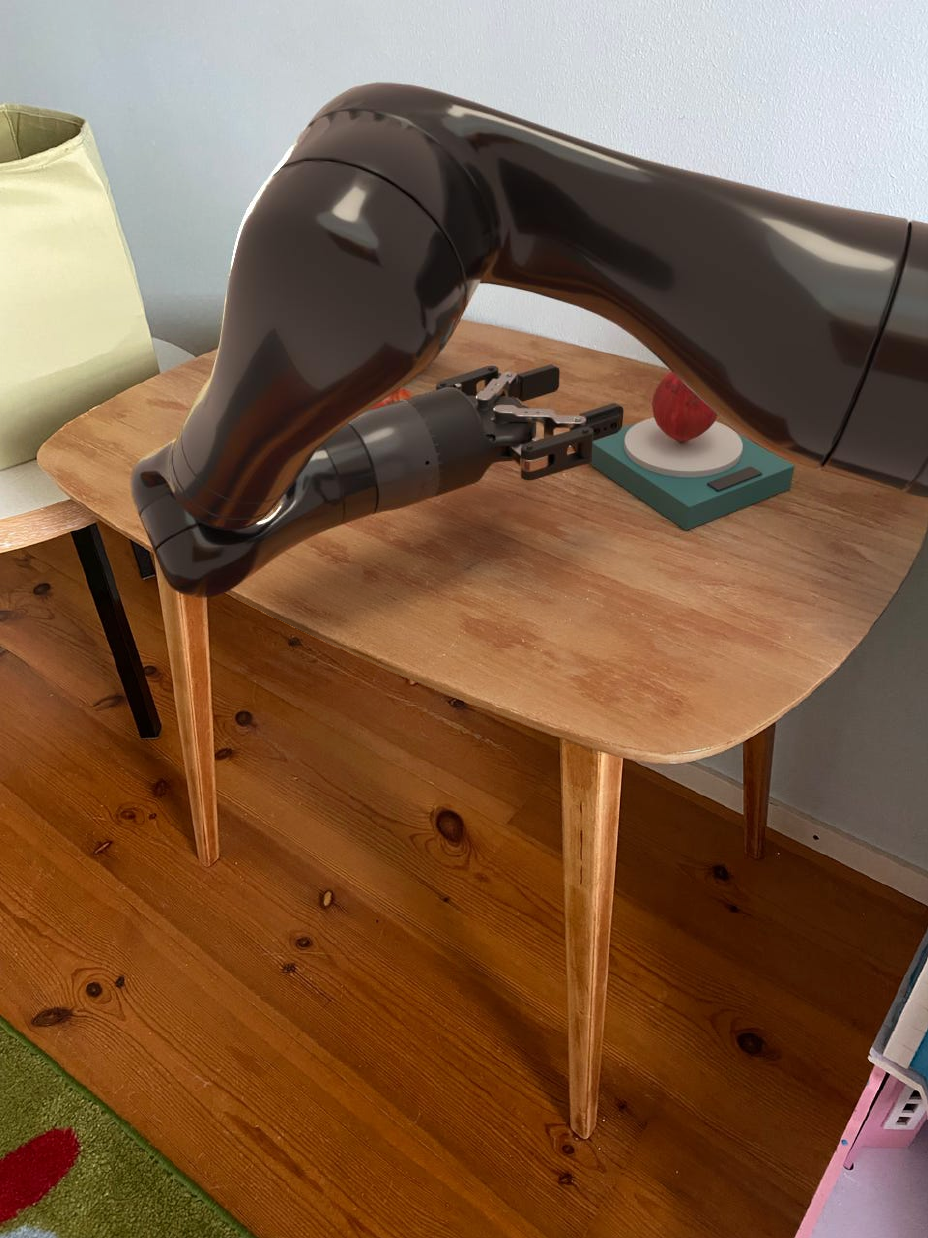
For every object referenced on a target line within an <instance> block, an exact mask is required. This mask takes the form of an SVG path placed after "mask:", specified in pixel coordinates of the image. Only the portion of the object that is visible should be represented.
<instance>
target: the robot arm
mask: <svg viewBox="0 0 928 1238" xmlns="http://www.w3.org/2000/svg"><path fill="white" fill-rule="evenodd" d="M480 284H481V285H483V284H484V285H485V284H487V285H494V286H499V287H505V288H506V287H507V288H510V289H516V290H520V291H524V292H528V293H532V294H535V295H538V296H539V295H540V296H542V297H546V298H549V299H552V300H555V301H558V302H562V303H565V304H567V305H568V304H569V305H572V306H574V307H578V308H581V309H583V310H586V311H588V312H590V313H592V314H594V315H597V316H599V317H601V318H603V319H604V320H607V321H608V322H610V323H613V324H614V325H616V326H617V327H619V328H620V329H622V330H623V331H625V332H626V333H628V334H629V335H630V336H632V337H633V338H635V340H637V341H638V342H639V343H640V344H641V345H643V347H645V348H646V349H647V350H648V351H650V352H651V353H652V354H653V355H654V356H655V357H657V358H658V359H659V361H661V363H663V365H664V366H666V367H667V368H668V369H669V370H670V372H673V373H674V374H675V375H676V376H677V377H678V378H679V379H680V380H681V381H682V382H683V383H684V384H685V385H686V386H687V387H689V388H690V389H691V390H692V391H693V392H694V393H695V394H696V395H697V396H698V397H699V398H700V399H701V400H702V401H703V402H704V403H705V404H707V405H708V406H709V407H710V408H711V409H712V410H713V411H715V412H716V413H717V414H718V415H717V416H719V417H720V418H721V419H722V420H723V421H725V422H726V423H727V424H728V425H729V426H731V427H732V428H733V429H735V430H736V431H737V432H738V433H739V434H740V435H741V436H743V437H744V438H746V439H748V440H750V441H751V442H753V443H755V444H757V445H759V446H760V447H762V448H764V449H766V450H767V451H769V452H771V453H773V454H775V455H776V456H778V457H780V458H782V459H784V460H786V461H787V460H788V461H790V462H793V463H797V464H799V465H802V466H806V467H809V468H812V469H820V471H822V472H825V473H829V474H833V475H836V476H839V477H844V478H847V479H851V480H855V481H858V482H862V483H866V484H869V485H872V486H873V485H874V486H877V487H879V488H884V489H887V490H891V491H895V492H899V493H902V494H906V495H912V496H915V497H919V498H920V497H921V498H925V499H928V223H927V222H923V221H919V220H914V219H911V220H910V221H908V219H907V218H906V217H900V216H895V215H889V214H883V213H877V212H872V211H867V210H859V209H854V208H850V207H845V206H844V207H843V206H839V205H833V204H828V203H824V202H819V201H815V200H811V199H806V198H803V197H799V196H794V195H789V194H786V193H782V192H778V191H774V190H769V189H766V188H762V187H759V186H754V185H750V184H746V183H742V182H738V181H734V180H730V179H727V178H723V177H718V176H714V175H711V174H706V173H701V172H698V171H692V170H688V169H684V168H680V167H676V166H672V165H669V164H664V163H661V162H656V161H653V160H648V159H645V158H641V157H638V156H635V155H632V154H629V153H625V152H622V151H619V150H616V149H611V148H610V147H606V146H604V145H601V144H597V143H594V142H591V141H588V140H586V139H585V140H584V139H582V138H579V137H577V136H574V135H570V134H567V133H564V132H563V131H559V130H556V129H553V128H550V127H547V126H545V125H541V124H538V123H537V122H536V123H535V122H533V121H530V120H527V119H524V118H522V117H519V116H516V115H514V114H510V113H507V112H504V111H502V110H499V109H496V108H492V107H491V106H487V105H486V104H485V105H484V104H481V103H478V102H475V101H473V100H469V99H466V98H463V97H461V96H457V95H453V94H450V93H447V92H444V91H440V90H438V89H437V90H436V89H432V88H428V87H424V86H420V85H415V84H408V83H398V82H383V81H382V82H381V81H380V82H371V83H367V84H362V85H356V86H353V87H351V88H348V89H347V90H345V91H343V92H341V93H339V94H338V95H336V96H335V97H333V98H332V99H331V100H329V101H328V102H326V103H325V104H324V105H323V106H322V107H321V108H320V109H319V110H318V111H317V112H316V114H315V115H314V116H313V117H312V119H311V120H310V121H309V122H308V124H306V126H305V128H304V129H303V130H302V131H301V132H300V134H299V135H298V137H297V138H296V139H295V141H293V143H292V145H291V146H290V147H289V149H288V150H287V152H285V154H284V156H283V157H282V159H281V160H280V161H279V163H278V164H277V165H276V167H275V168H274V169H273V171H272V172H271V174H270V175H269V177H268V178H267V180H266V181H265V182H264V183H263V185H262V186H261V188H260V189H259V191H258V192H257V194H256V195H255V197H254V199H253V201H252V202H251V203H250V205H249V207H248V208H247V210H246V213H245V215H244V216H243V219H242V222H241V225H240V227H239V231H238V234H237V238H236V241H235V245H234V250H233V255H232V258H231V264H230V268H229V274H228V280H227V286H226V293H225V300H224V307H223V315H222V323H221V331H220V338H219V342H218V347H217V352H216V356H215V360H214V365H213V367H212V371H211V373H210V375H209V378H208V379H207V381H206V382H205V384H204V385H203V386H202V388H201V389H200V391H199V393H198V394H197V396H196V398H195V400H194V402H193V403H192V405H191V408H190V409H189V411H188V413H187V414H186V417H185V418H184V421H183V423H182V425H181V426H180V429H179V431H178V433H177V435H176V436H175V438H173V439H171V440H170V441H169V442H167V444H166V443H165V445H163V446H160V447H158V448H155V449H154V450H152V451H150V452H148V453H146V454H145V455H144V456H142V457H141V458H140V459H139V460H137V461H136V462H135V464H134V466H133V467H132V470H131V473H130V482H129V484H130V494H131V498H132V501H133V505H134V507H135V509H136V513H137V514H138V517H139V519H140V522H141V524H142V526H143V528H144V531H145V533H146V536H147V538H148V540H149V543H150V545H151V547H152V550H153V552H154V554H155V558H156V561H157V563H158V565H159V568H160V570H161V572H162V574H163V577H164V579H165V580H166V582H167V584H168V585H169V586H170V588H171V589H173V591H175V592H177V593H178V594H181V595H184V596H187V597H192V598H198V599H199V598H202V599H203V598H212V597H217V596H220V595H223V594H225V593H227V592H229V591H231V590H233V589H234V588H236V587H238V586H240V585H241V584H242V583H244V582H245V581H247V580H248V579H249V578H252V576H253V575H255V574H256V573H258V572H259V571H260V570H262V569H263V568H265V567H266V566H267V565H268V564H269V563H271V562H272V561H274V560H275V559H277V558H278V557H280V556H281V555H283V554H285V553H286V552H288V551H290V550H291V549H293V548H295V547H296V546H298V545H299V544H301V543H303V542H305V541H306V540H309V539H310V538H313V537H315V536H317V535H319V534H321V533H323V532H327V531H328V530H331V529H335V528H337V527H340V526H343V525H346V524H349V523H352V522H354V521H358V520H361V519H363V518H367V517H370V516H372V515H375V514H380V513H385V512H390V511H391V512H392V511H395V510H400V509H404V508H406V507H409V506H412V505H415V504H419V503H421V502H424V501H427V500H429V499H433V498H435V497H436V498H437V497H439V496H442V495H445V494H448V493H451V492H454V491H456V490H460V489H462V488H466V487H468V486H471V485H474V484H476V483H478V482H480V481H481V479H482V478H483V477H484V475H485V474H486V472H487V471H488V470H489V468H490V467H491V466H492V465H493V464H495V463H496V464H497V463H501V462H503V463H504V462H513V461H514V462H515V463H516V464H517V465H519V466H520V478H521V479H522V480H524V481H529V482H530V481H535V480H537V479H538V480H539V479H541V478H544V477H548V476H551V475H554V474H557V473H561V472H564V471H568V470H571V469H574V468H577V467H580V466H584V465H587V464H588V463H590V462H591V461H592V450H593V441H595V440H598V439H601V438H604V437H606V436H610V435H613V434H616V433H617V432H619V431H620V429H621V428H623V421H624V407H623V406H621V405H620V404H618V403H617V402H612V403H609V404H605V405H603V406H600V407H597V408H593V409H590V410H588V411H584V412H581V413H579V414H578V415H575V414H574V415H573V414H557V413H555V411H554V410H553V409H551V408H534V407H533V408H531V407H529V406H526V405H525V404H522V403H523V402H526V401H530V400H533V399H537V398H540V397H543V396H546V395H549V394H553V393H555V392H557V391H558V389H559V387H560V374H561V373H560V368H559V367H558V366H556V365H554V364H553V363H552V364H551V363H550V364H547V365H544V366H541V367H537V368H534V369H533V368H532V369H530V370H527V371H524V372H520V373H516V372H515V371H513V370H512V371H511V370H510V371H508V370H507V371H504V372H502V373H500V372H499V366H496V365H486V366H484V367H480V368H477V369H474V370H471V371H468V372H465V373H462V374H458V375H456V376H453V377H449V378H446V379H443V380H441V381H437V382H436V383H435V390H432V391H428V392H425V393H421V394H418V395H414V396H413V397H411V398H407V399H404V400H401V401H397V402H394V403H390V404H387V405H383V406H380V407H377V408H373V409H371V408H372V407H374V406H375V405H377V404H378V403H380V402H381V401H383V400H384V399H386V398H387V397H388V396H390V395H391V394H393V393H394V392H396V391H397V390H399V389H400V388H403V387H404V386H405V385H406V384H408V383H409V382H411V381H412V380H413V379H414V378H416V377H417V376H418V375H419V374H421V372H423V371H424V370H425V369H426V368H427V367H429V366H430V365H431V364H432V363H433V361H434V360H436V358H437V357H438V356H439V355H440V354H441V353H442V351H443V350H444V349H445V347H446V346H447V344H448V342H449V341H450V339H451V338H452V336H453V335H454V333H455V331H456V329H457V328H458V325H459V324H460V322H461V319H462V318H463V315H464V314H465V312H466V311H467V308H468V306H469V304H470V302H471V300H472V299H473V296H474V295H475V293H476V291H477V290H478V287H479V285H480ZM482 381H484V389H481V390H478V389H477V386H478V383H479V382H482ZM521 402H522V403H521ZM369 409H370V410H369ZM537 423H539V424H541V425H542V426H543V438H540V439H539V438H538V437H536V436H537ZM556 429H569V430H567V431H563V432H561V433H557V434H555V430H556ZM568 452H571V453H569V454H568ZM271 512H272V513H271ZM270 513H271V514H270ZM269 514H270V515H269Z"/></svg>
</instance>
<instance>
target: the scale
mask: <svg viewBox="0 0 928 1238" xmlns="http://www.w3.org/2000/svg"><path fill="white" fill-rule="evenodd" d="M587 464H588V465H590V466H591V467H593V468H594V469H596V470H597V471H599V472H600V473H601V474H603V475H604V476H606V477H607V478H609V479H610V480H612V481H613V482H614V483H616V484H617V485H619V486H620V487H622V488H623V489H625V490H626V491H627V492H628V493H630V494H632V495H633V496H635V497H636V498H638V499H639V500H641V501H642V502H643V503H645V504H646V505H648V506H649V507H651V508H652V509H653V510H655V511H656V512H658V513H659V514H661V515H662V516H664V517H665V518H667V519H668V520H669V521H671V522H673V524H675V525H677V526H678V527H679V528H681V529H683V530H684V531H689V530H692V529H694V528H697V527H699V526H701V525H704V524H707V523H710V522H712V521H713V520H714V521H715V520H717V519H719V518H722V517H725V516H726V515H727V516H728V515H730V514H731V513H734V512H736V511H739V510H742V509H744V508H747V507H749V506H752V505H754V504H757V503H759V502H762V501H765V500H766V499H769V498H772V497H774V496H777V495H779V494H781V493H785V492H786V491H789V490H790V489H791V487H792V483H793V482H792V481H793V476H794V472H795V471H794V470H795V465H794V464H792V463H791V462H789V461H787V460H786V459H785V458H782V457H780V456H778V455H775V454H773V453H771V452H769V451H767V450H766V449H764V448H762V447H760V446H759V445H757V444H755V443H754V442H753V441H751V440H750V439H748V438H747V437H745V436H743V435H742V434H740V433H737V432H736V431H734V430H733V429H732V428H731V427H729V426H727V425H726V424H724V423H721V422H718V421H716V420H715V422H714V423H713V425H712V426H711V427H710V428H709V429H708V430H707V431H705V432H704V433H703V434H701V435H700V436H698V437H696V438H694V439H691V440H689V441H687V442H684V443H680V442H677V441H676V440H674V439H672V438H670V437H669V436H668V435H666V434H665V433H664V432H663V431H662V430H661V428H660V427H659V426H658V425H657V423H656V421H655V419H654V416H653V417H650V418H647V419H644V420H641V421H638V422H635V423H633V424H629V425H627V426H623V427H622V428H621V429H620V431H619V432H617V433H616V434H613V435H610V436H606V437H604V438H601V439H598V440H595V441H593V450H592V461H591V462H590V463H587Z"/></svg>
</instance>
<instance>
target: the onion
mask: <svg viewBox="0 0 928 1238" xmlns="http://www.w3.org/2000/svg"><path fill="white" fill-rule="evenodd" d="M651 408H652V415H653V417H654V419H655V421H656V423H657V425H658V426H659V427H660V428H661V430H662V431H663V432H664V433H665V434H666V435H668V436H669V437H670V438H672V439H674V440H676V441H677V442H680V443H684V442H687V441H689V440H691V439H694V438H696V437H698V436H700V435H701V434H703V433H704V432H705V431H707V430H708V429H709V428H710V427H711V426H712V425H713V423H714V422H715V421H716V419H717V418H718V416H719V415H718V414H717V413H716V412H715V411H713V410H712V409H711V408H710V407H709V406H708V405H707V404H705V403H704V402H703V401H702V400H701V399H700V398H699V397H698V396H697V395H696V394H695V393H694V392H693V391H692V390H691V389H690V388H689V387H687V386H686V385H685V384H684V383H683V382H682V381H681V380H680V379H679V378H678V377H677V376H676V375H675V374H674V373H673V372H672V371H670V372H668V373H667V374H666V375H665V376H664V377H663V378H662V379H661V380H660V382H659V384H658V385H657V387H656V388H655V390H654V393H653V396H652V401H651Z"/></svg>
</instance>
